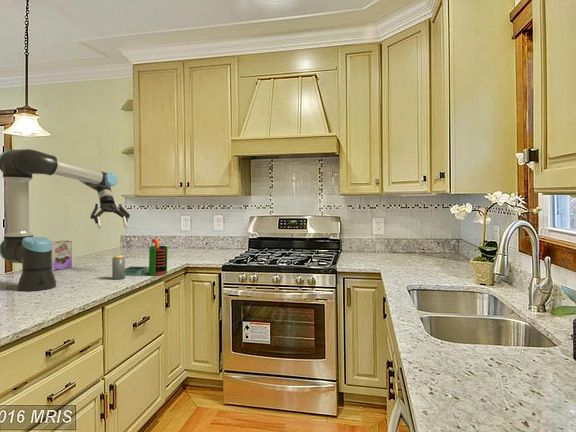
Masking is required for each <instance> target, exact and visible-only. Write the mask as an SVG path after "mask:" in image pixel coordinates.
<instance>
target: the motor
mask: <svg viewBox="0 0 576 432" xmlns="http://www.w3.org/2000/svg"><path fill="white" fill-rule="evenodd" d="M151 244H154V245H152V246H149V247H148V248H149V249H148V267H149V273H148V276H150V277H160V276H161V277H162V276H165V275H166V274H167V273H168V246H166V245H160V243H159V240H158V238H152V239H151Z"/></svg>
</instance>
